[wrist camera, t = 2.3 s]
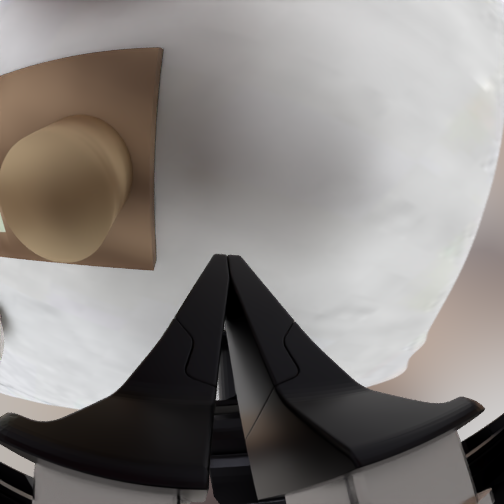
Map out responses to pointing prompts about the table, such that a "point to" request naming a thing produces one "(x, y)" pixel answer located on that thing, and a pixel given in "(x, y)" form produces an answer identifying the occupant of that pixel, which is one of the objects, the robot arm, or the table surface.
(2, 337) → the lidded jar
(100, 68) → the walnut board
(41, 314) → the table surface
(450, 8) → the table surface
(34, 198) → the oak puck
